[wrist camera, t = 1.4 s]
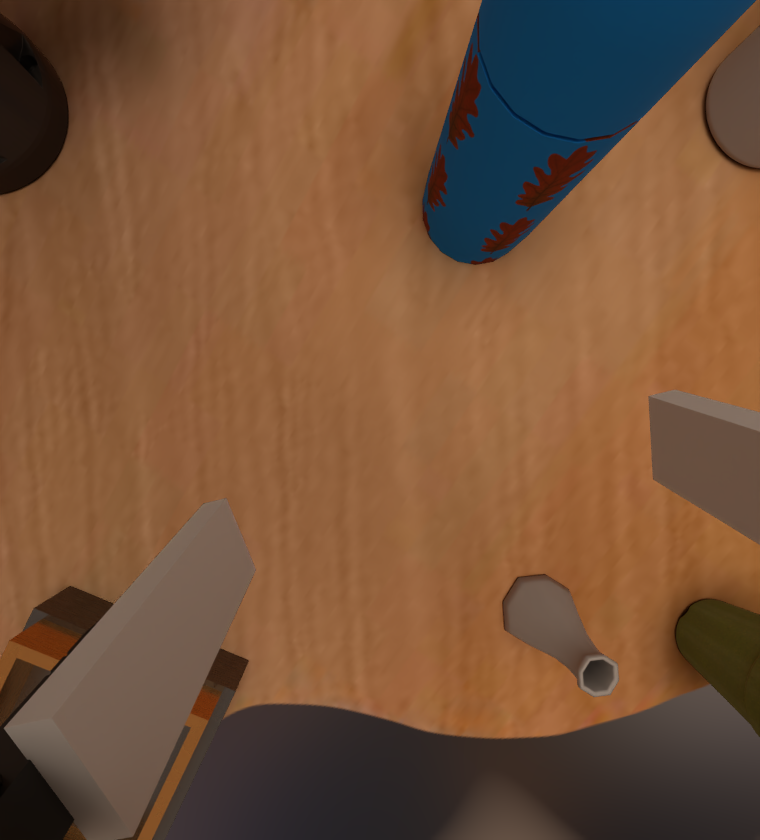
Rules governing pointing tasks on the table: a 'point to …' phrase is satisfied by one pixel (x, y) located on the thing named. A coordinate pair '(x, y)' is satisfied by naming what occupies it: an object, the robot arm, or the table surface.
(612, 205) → the table surface
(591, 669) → the flask
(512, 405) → the table surface
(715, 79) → the cylinder vase
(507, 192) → the thermos
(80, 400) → the table surface
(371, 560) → the table surface
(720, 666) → the plant pot
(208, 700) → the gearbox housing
